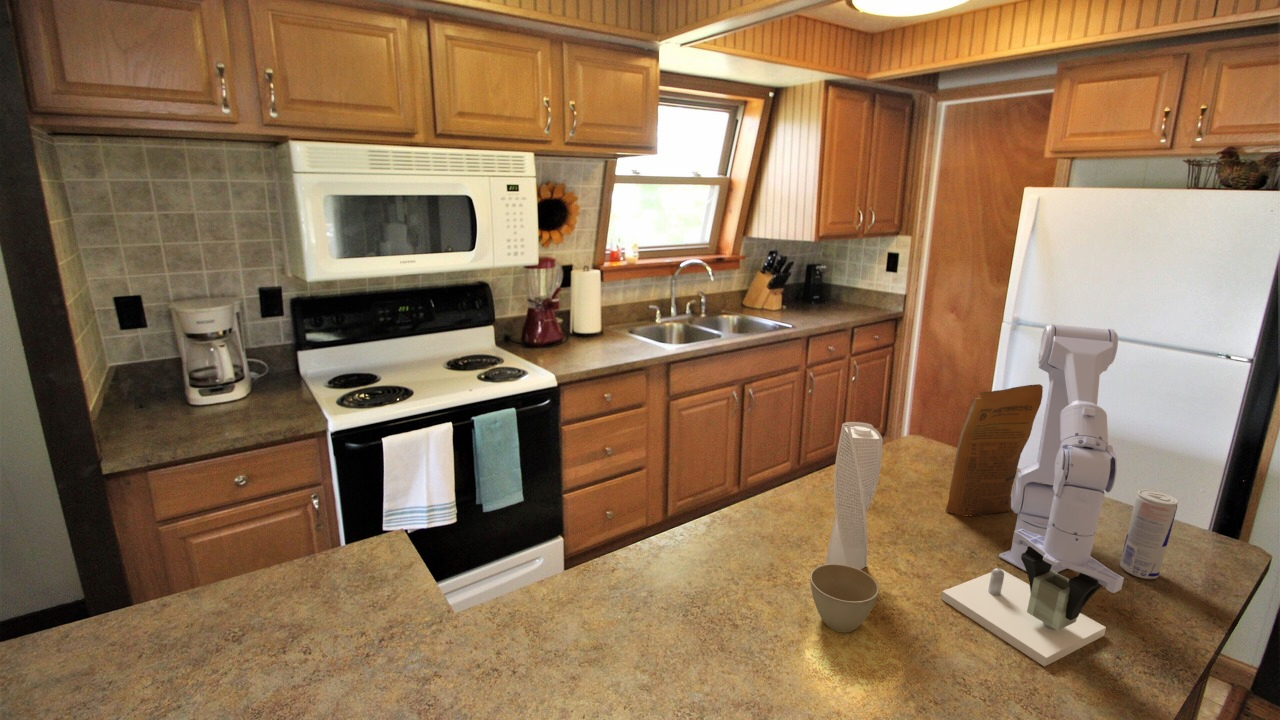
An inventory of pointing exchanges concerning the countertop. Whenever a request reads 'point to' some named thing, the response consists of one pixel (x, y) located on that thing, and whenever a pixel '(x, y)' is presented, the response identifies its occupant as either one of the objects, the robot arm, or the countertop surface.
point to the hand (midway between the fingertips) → (1053, 607)
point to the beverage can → (1148, 533)
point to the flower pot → (843, 595)
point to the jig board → (1018, 617)
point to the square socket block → (1050, 600)
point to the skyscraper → (854, 492)
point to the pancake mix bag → (992, 449)
